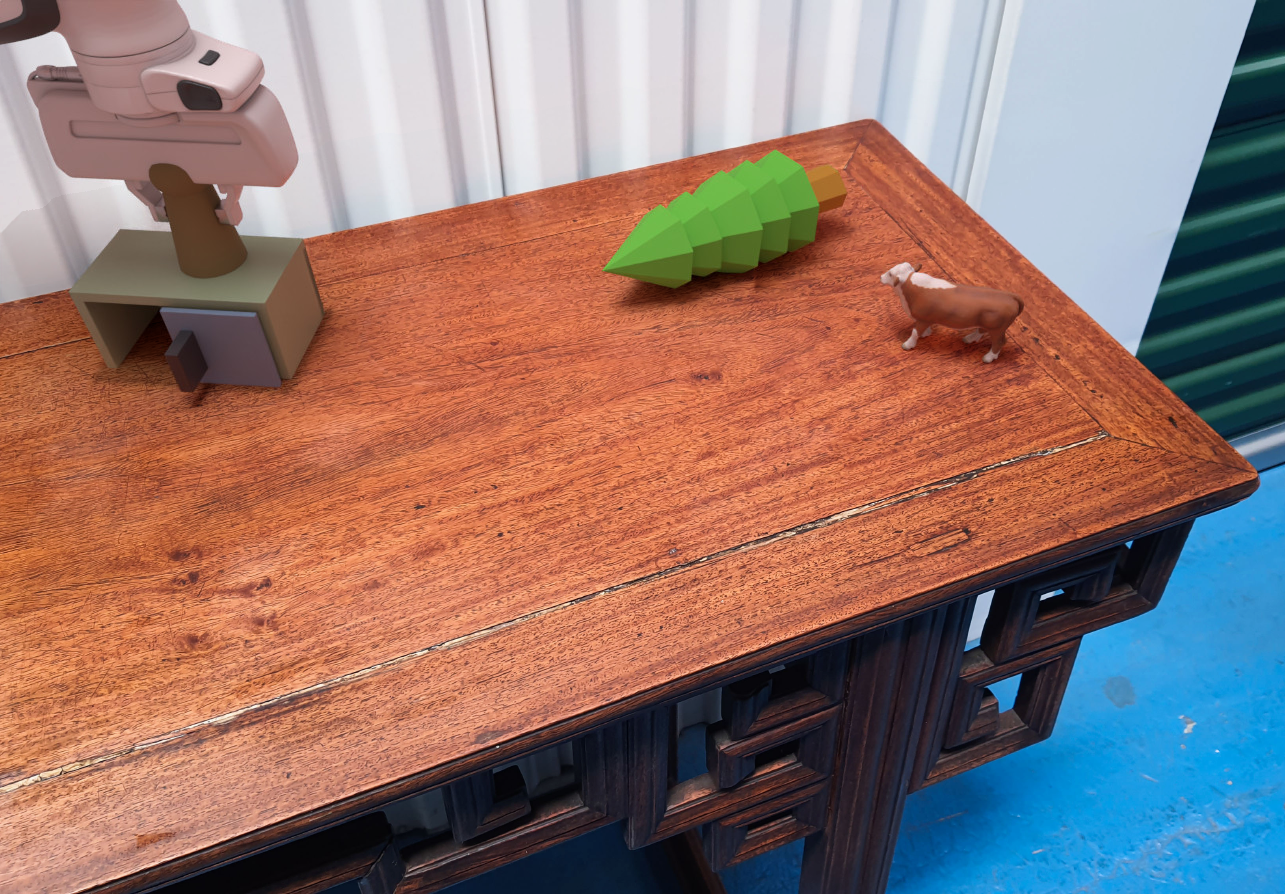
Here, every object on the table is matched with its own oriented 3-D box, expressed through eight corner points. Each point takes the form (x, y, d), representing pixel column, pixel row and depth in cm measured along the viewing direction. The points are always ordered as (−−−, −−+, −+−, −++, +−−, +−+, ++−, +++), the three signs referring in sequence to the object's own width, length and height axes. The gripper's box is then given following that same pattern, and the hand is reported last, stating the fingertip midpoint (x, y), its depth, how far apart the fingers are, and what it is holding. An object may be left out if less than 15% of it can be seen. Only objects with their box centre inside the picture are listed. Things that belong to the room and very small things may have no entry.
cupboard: (104, 387, 94) (59, 302, 87) (157, 311, 102) (120, 228, 95) (288, 398, 93) (258, 313, 85) (327, 321, 101) (303, 238, 93)
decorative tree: (860, 133, 102) (619, 218, 89) (871, 241, 107) (644, 337, 94) (787, 132, 111) (559, 209, 98) (800, 232, 116) (584, 317, 103)
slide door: (175, 407, 90) (141, 335, 84) (193, 378, 93) (162, 307, 87) (266, 413, 90) (239, 341, 84) (282, 383, 93) (256, 312, 87)
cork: (192, 286, 88) (147, 175, 80) (170, 254, 92) (125, 145, 84) (257, 262, 91) (220, 153, 83) (234, 232, 94) (196, 124, 86)
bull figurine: (873, 316, 101) (887, 248, 95) (1009, 345, 97) (1032, 276, 92) (864, 342, 98) (878, 274, 92) (1005, 373, 95) (1028, 304, 89)
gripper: (-4, 82, 77) (71, 234, 87) (251, 92, 75) (297, 246, 85) (38, 47, 81) (105, 195, 91) (280, 56, 80) (321, 206, 90)
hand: (200, 220), depth 88 cm, fingers closed on cork, 4 cm apart
